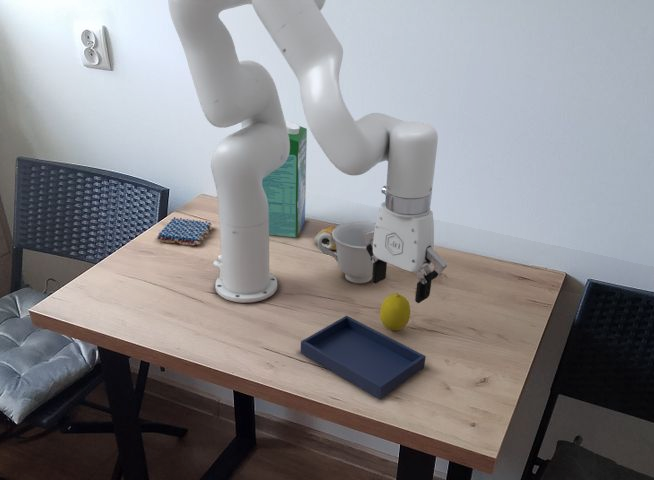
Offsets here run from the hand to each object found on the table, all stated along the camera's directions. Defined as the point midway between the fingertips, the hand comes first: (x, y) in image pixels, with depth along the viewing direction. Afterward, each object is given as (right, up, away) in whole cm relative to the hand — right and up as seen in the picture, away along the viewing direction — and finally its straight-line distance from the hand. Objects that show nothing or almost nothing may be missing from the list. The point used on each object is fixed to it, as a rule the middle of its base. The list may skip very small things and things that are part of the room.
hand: (399, 290), depth 126 cm
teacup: (-7, +5, +22) cm, 24 cm away
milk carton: (-22, +18, +41) cm, 50 cm away
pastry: (-10, +14, +35) cm, 39 cm away
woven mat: (-45, +16, +36) cm, 60 cm away
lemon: (-1, -7, +5) cm, 9 cm away
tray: (-7, -13, -3) cm, 15 cm away
